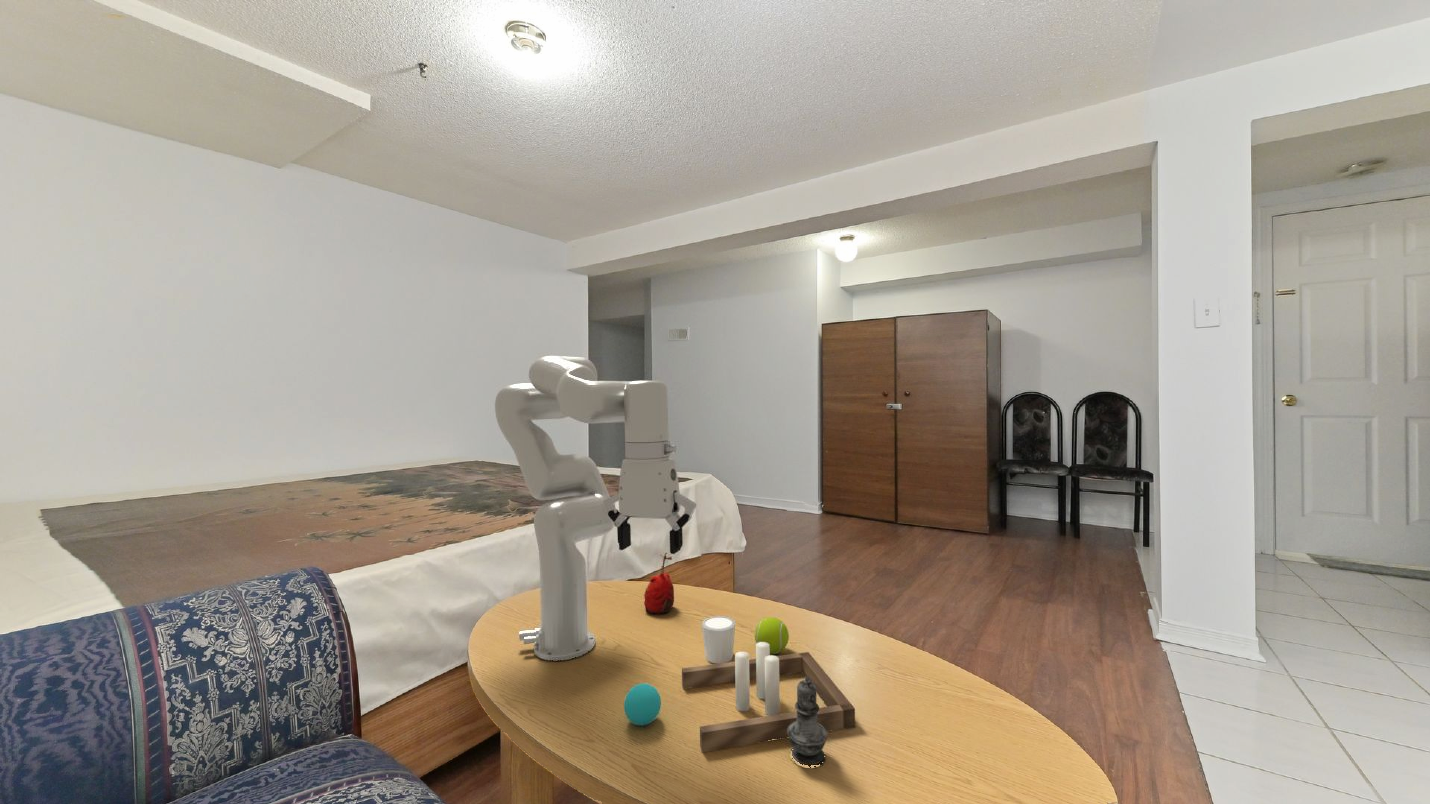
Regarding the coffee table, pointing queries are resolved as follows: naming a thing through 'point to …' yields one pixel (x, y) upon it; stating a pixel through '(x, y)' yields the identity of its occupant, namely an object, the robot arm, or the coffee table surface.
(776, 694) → the pin
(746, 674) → the pin front
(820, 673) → the bumper lane
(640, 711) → the ball
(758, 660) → the pin
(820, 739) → the dark gray figurine
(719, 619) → the white cup
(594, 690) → the coffee table surface
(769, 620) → the tennis ball
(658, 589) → the red rounded lumpy piece
